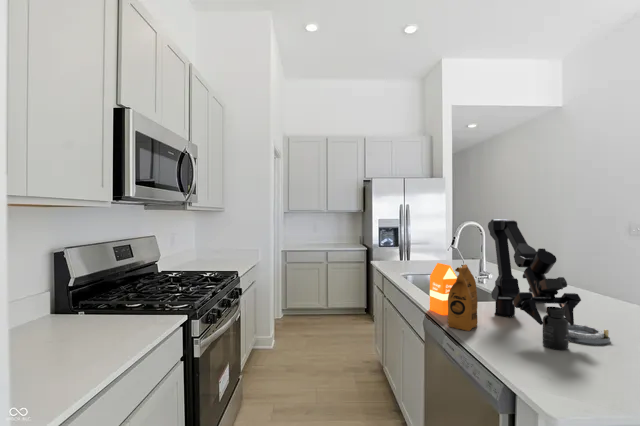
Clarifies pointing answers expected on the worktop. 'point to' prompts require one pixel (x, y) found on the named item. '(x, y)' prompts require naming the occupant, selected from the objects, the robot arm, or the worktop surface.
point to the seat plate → (590, 342)
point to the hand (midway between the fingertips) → (557, 324)
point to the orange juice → (441, 287)
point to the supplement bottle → (555, 329)
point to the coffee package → (463, 301)
